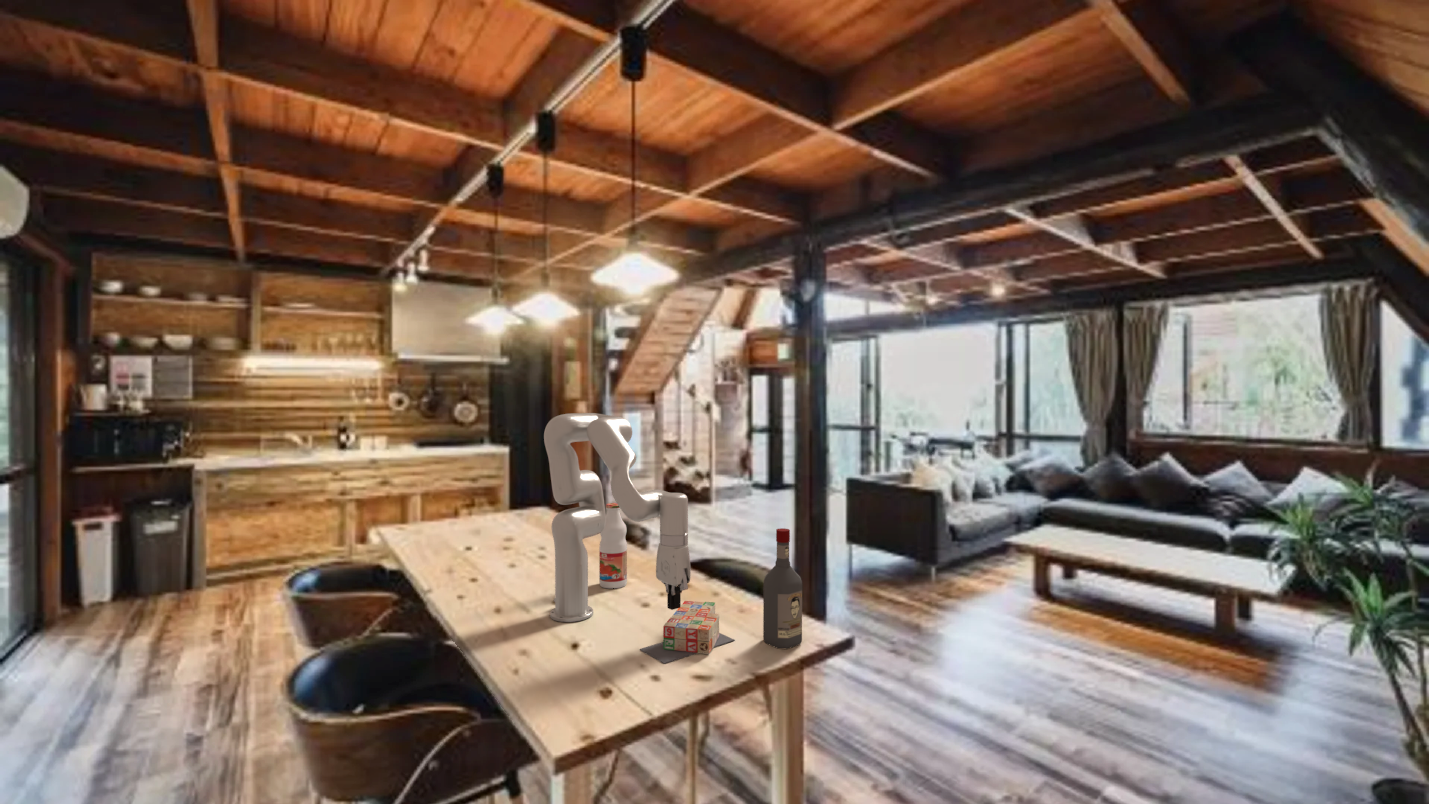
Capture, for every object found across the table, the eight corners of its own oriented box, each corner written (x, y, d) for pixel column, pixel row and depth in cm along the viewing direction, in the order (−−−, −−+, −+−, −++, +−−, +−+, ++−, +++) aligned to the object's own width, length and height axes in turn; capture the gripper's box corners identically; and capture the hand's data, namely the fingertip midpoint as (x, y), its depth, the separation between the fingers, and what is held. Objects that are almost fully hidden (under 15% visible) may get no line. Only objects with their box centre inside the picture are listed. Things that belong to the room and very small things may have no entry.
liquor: (758, 640, 171) (758, 529, 171) (782, 632, 177) (782, 524, 177) (782, 651, 164) (783, 535, 164) (806, 642, 170) (807, 530, 170)
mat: (639, 650, 165) (639, 648, 165) (708, 629, 179) (708, 628, 179) (664, 664, 156) (664, 662, 156) (734, 640, 171) (734, 639, 171)
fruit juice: (632, 584, 221) (632, 503, 220) (612, 591, 213) (612, 507, 213) (614, 579, 227) (614, 500, 226) (593, 585, 219) (593, 504, 219)
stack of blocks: (684, 599, 185) (725, 603, 182) (684, 621, 185) (725, 624, 182) (663, 625, 164) (710, 629, 161) (663, 650, 164) (709, 654, 161)
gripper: (646, 537, 174) (646, 604, 174) (679, 547, 163) (679, 618, 163) (668, 533, 179) (668, 598, 179) (702, 542, 167) (702, 612, 168)
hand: (674, 607), depth 171 cm, fingers closed
